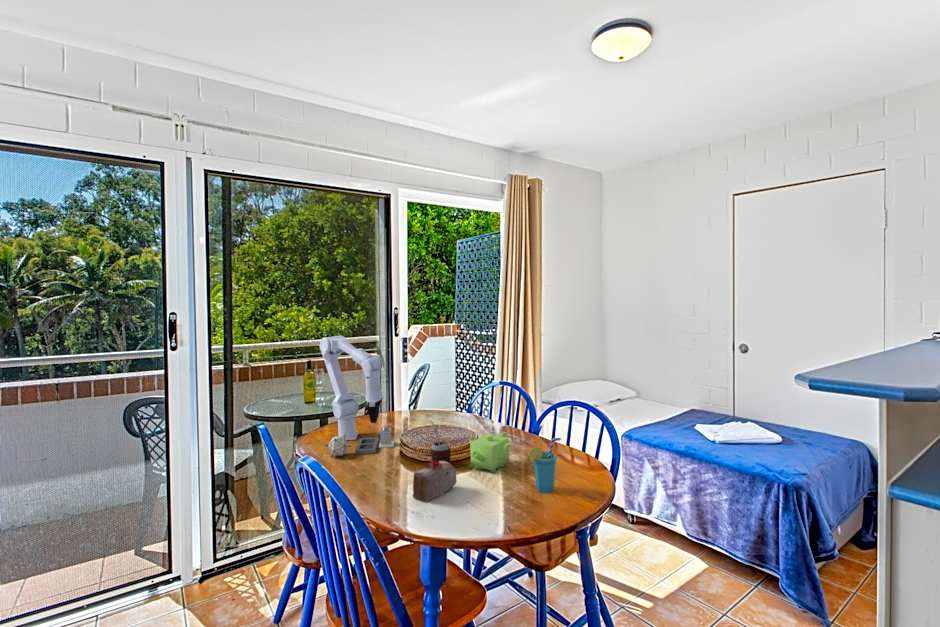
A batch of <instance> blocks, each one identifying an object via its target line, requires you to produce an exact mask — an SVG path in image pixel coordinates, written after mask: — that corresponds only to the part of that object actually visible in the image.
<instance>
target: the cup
mask: <svg viewBox="0 0 940 627" xmlns="http://www.w3.org/2000/svg"><path fill="white" fill-rule="evenodd" d="M561 440H562V438H561V437H553V438H552V439H551V441H550V445H549V451H542V449H541V447H537V446H534V447H532V448H531V449H529V451H528V453H527V456H526V457H527V459H528V462H529V463H531V464H533V471H534V480H535V489H536V491H537V492H539V493H543V494H549V493H553V491H554V490H555V481H556V480H555V479H556V478H555V476H556V464H557V463H556V462H557V459H558V456H557V454H555V453H553V447H554V443H555V442H556V441H557V442H558V441H561Z"/></svg>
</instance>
